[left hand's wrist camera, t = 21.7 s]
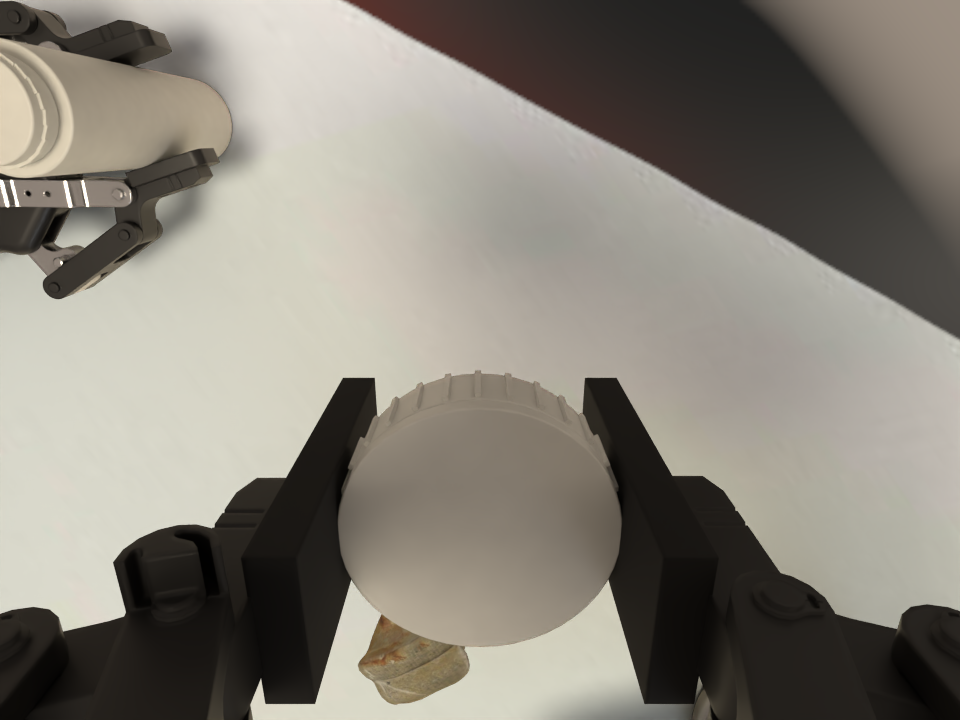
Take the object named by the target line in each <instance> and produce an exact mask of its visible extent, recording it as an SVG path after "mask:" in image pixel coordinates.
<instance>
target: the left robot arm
mask: <svg viewBox="0 0 960 720" xmlns="http://www.w3.org/2000/svg"><path fill="white" fill-rule="evenodd" d="M375 415H377V406H376V391H375V378H343V379H342V381H341V383H340V384H339V386H338V388H337V390H336V391H335V393H334V395H333V397H332V398H331V400H330V402H329V404H328V405H327V407H326V409H325V411H324V412H323V414H322V416H321V418H320V419H319V421H318V423H317V425H316V426H315V428H314V430H313V432H312V434H311V435H310V437H309V439H308V441H307V442H306V444H305V446H304V448H303V449H302V451H301V453H300V455H299V456H298V458H297V460H296V462H295V463H294V465H293V467H292V469H291V470H290V472H289V474H288V476H287V477H286V478H256V479H255V480H254V481H252V482H251V483H249V484H248V485H247V486H245V487H244V488H242V489H241V490H240V491H238V492H237V493H236V494H235V496H234V497H233V498H232V500H231V501H230V503H229V504H228V506H227V507H226V509H225V513H222V514H221V516H220V517H219V519H218V520H217V522H216V523H215V528H212V529H211V528H208V527H204V526H200V525H177V526H173V527H169V528H164V529H160V530H157V531H155V532H152V533H150V534H148V535H146V536H143V537H141V538H139V539H137V540H136V541H135V542H133V543H132V544H130V545H129V546H128V547H126V548H125V549H123V550H122V552H121V553H120V554H119V556H118V557H117V558H116V560H115V561H114V562H113V564H114V567H115V571H116V575H117V579H118V583H119V587H120V590H121V594H122V598H123V602H124V606H125V609H126V614H125V616H124V617H121V618H118V619H115V620H111V621H108V622H103V623H99V624H95V625H90V626H86V627H82V628H77V629H73V630H68V631H64V632H63V630H62V627H61V624H60V621H59V617H58V616H56V615H55V614H54V613H53V612H52V611H51V610H49V609H43V608H36V607H30V608H23V609H16V610H11V611H8V612H5V613H2V614H0V720H253V718H252V712H251V707H250V704H251V701H252V699H253V696H254V694H255V691H256V689H257V687H258V684H259V682H260V679H261V680H262V686H263V692H264V698H265V703H266V704H315V702H316V699H317V695H318V692H319V688H320V685H321V681H322V678H323V675H324V671H325V668H326V664H327V661H328V657H329V654H330V651H331V647H332V644H333V640H334V637H335V633H336V630H337V626H338V623H339V620H340V616H341V613H342V609H343V606H344V602H345V599H346V596H347V592H348V589H349V585H350V582H351V577H350V575H349V573H348V572H347V570H346V568H345V565H344V562H343V559H342V556H341V551H340V541H339V531H338V510H339V504H340V501H341V498H342V492H341V489H342V486H343V484H344V481H345V479H346V476H347V474H348V471H349V469H348V466H349V464H350V461H351V459H352V456H353V454H354V451H355V449H356V446H357V444H358V441H359V439H360V437H362V438H365V437H366V435H367V432H368V430H369V427H370V425H371V422H372V419H373V418H374V416H375ZM583 415H584V416H585V418H586V421H587V423H588V426H589V429H590V431H591V432H592V434H593V435H597V434H598V436H599V438H600V440H601V443H602V445H603V448H604V450H605V453H606V455H607V458H608V460H609V463H610V466H611V469H612V471H613V474H614V476H615V479H616V481H617V484H618V486H619V488H618V492H617V496H618V499H619V502H620V506H621V514H622V527H621V538H620V547H619V555H618V558H617V561H616V563H615V566H614V569H613V571H612V573H611V575H610V577H609V579H608V580H609V583H610V586H611V590H612V593H613V597H614V600H615V604H616V607H617V611H618V614H619V617H620V621H621V624H622V628H623V631H624V635H625V638H626V641H627V645H628V648H629V652H630V655H631V659H632V662H633V666H634V669H635V672H636V676H637V679H638V683H639V686H640V690H641V693H642V696H643V700H644V703H645V704H694V701H695V695H696V689H697V684H698V678H699V677H700V680H701V682H702V685H703V687H704V689H703V690H702V692H701V694H700V695H699V697H698V699H697V702H696V704H695V707H694V711H693V716H692V720H960V611H958V610H954V609H952V608H949V607H942V606H935V605H920V606H914V607H910V608H909V609H908V610H907V611H905V612H904V613H903V614H902V616H901V619H900V622H899V625H898V629H894V628H889V627H885V626H881V625H876V624H872V623H867V622H863V621H859V620H854V619H850V618H847V617H843V616H840V615H837V614H835V613H834V611H833V609H832V608H831V606H830V605H829V603H828V602H827V600H826V599H825V597H823V596H822V595H821V594H820V593H818V592H817V591H816V590H815V589H814V588H812V587H811V586H810V585H808V584H806V583H804V582H802V581H800V580H798V579H796V578H794V577H792V576H788V575H785V574H781V573H780V572H779V570H778V569H777V568H776V566H775V565H774V563H773V562H772V560H771V559H770V557H769V556H768V555H767V553H766V552H765V550H764V549H763V547H762V546H761V544H760V543H759V541H758V540H757V539H756V537H755V536H754V534H753V533H752V531H751V530H750V528H749V527H748V526H745V521H744V520H743V518H742V517H741V515H740V514H739V513H738V511H735V507H734V505H733V504H732V502H731V501H730V499H729V498H728V497H727V495H726V494H725V492H724V491H723V490H722V489H720V488H719V487H717V486H716V485H715V484H713V483H712V482H710V481H709V480H708V479H706V478H705V477H703V476H672V475H671V473H670V471H669V469H668V468H667V466H666V464H665V462H664V461H663V459H662V457H661V455H660V454H659V452H658V450H657V448H656V446H655V445H654V443H653V441H652V439H651V438H650V436H649V434H648V432H647V431H646V429H645V427H644V425H643V424H642V422H641V420H640V418H639V417H638V415H637V413H636V411H635V410H634V408H633V406H632V404H631V403H630V401H629V399H628V397H627V396H626V394H625V392H624V390H623V389H622V387H621V385H620V383H619V381H618V380H617V378H585V386H584V401H583Z"/></svg>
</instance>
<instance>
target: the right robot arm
mask: <svg viewBox="0 0 960 720" xmlns="http://www.w3.org/2000/svg"><path fill="white" fill-rule="evenodd" d="M0 38H3V39H8V40H13V41H17V42H27V43H28V44H31V45H36V46H41V47H45V48H50V49H55V50H59V51H64V52H69V53H73V54H78V55H83V56H87V57H92V58H97V59H101V60H106V61H111V62H115V63H120V64H125V65H129V66H136V65H139V64H142V63H145V62H147V61H150V60H153V59H156V58H158V57H161V56H164V55H167V54H169V53H171V52H172V50H171V48H170V46H169V43H168V41H167V39H166V36H165V34H162V33H159V32H156V31H153V30H150V29H148V27H147V26H144V25H141V24H138V23H135V22H132V21H124V20H117V21H114V22H112V23H109V24H108V25H104V26H101V27H99V28H96V29H93V30H90V31H88V32H85V33H82V34H80V35H77V36H74V37H71V36H70V34H69V33H68V32H67V31H66V25H65V23H64V21H63V20H62V18H61V17H60V16H58V15H57V14H55V13H52V12H48V11H41V10H38V9H34V8H31V7H28V6H27V5H25V4H21V3H18V2H15V1H0ZM217 163H219V159H218V157H217V155H216V152H215V150H214V148H200V149H195V150H192V151H188V152H185V153H182V154H179V155H177V156H174V157H171V158H168V159H165V160H162V161H159V162H156V163H153V164H150V165H148V166H145V167H142V168H138V169H136V170H133V171H130V172H127V173H125V174H126V176H127V178H120V177H102V176H83V175H82V173H81V174H69V175H57V176H45V177H33V178H18V177H12V176H8V175H5V174H2V173H0V253H3V252H7V253H13V254H17V255H26V254H28V255H29V256H30V257H31V258H32V259H33V261H34V262H35V263H36V264H37V265H38V266H39V267H40V268H41V269H42V270H43V272H44V273H45V274H46V275H47V277H46V278H45V279H44V281H43V288H44V290H45V292H46V293H47V294H48V295H49V296H50V297H52V298H55V299H62V298H64V297H67V296H70V295H72V294H75V293H78V292H80V291H83V290H86V289H88V288H91V287H93V286H94V285H96V284H97V283H99V282H100V281H101V280H103V279H104V278H105V277H107V276H108V275H109V274H111V273H112V272H113V271H115V270H116V269H117V268H119V267H120V266H122V265H123V264H124V263H126V262H127V261H128V260H130V259H131V258H132V257H134V256H135V255H136V254H138V253H139V252H141V251H142V250H143V249H145V248H146V247H147V246H149V245H150V244H151V243H153V242H154V241H155V240H157V239H158V238H159V237H160V236H161V235H162V232H163V229H162V225H161V223H160V222H159V221H158V220H157V219H156V214H155V206H156V203H157V202H158V200H159V199H161V198H162V197H165V196H168V195H171V194H174V193H177V192H180V191H183V190H186V189H189V188H192V187H195V186H198V185H201V184H204V183H206V182H207V181H208V180H209V179H210V178H211V177H212V176H213V175H212V172H211V170H210V168H209V166H212V165H215V164H217ZM74 207H114V208H115V215H116V221H117V224H116V225H115V226H113V227H112V228H111V229H109V230H108V231H107V232H105V233H104V234H103V235H101V236H100V237H99V238H97V239H96V240H95V241H93V242H92V243H91V244H89V245H88V246H87V247H86V248H84V247H82V246H79V245H73V246H70V247H66V248H61V247H59V246H57V245H56V244H54V242H55V240H56V238H57V236H58V234H59V232H60V230H61V228H62V227H63V225H64V223H65V221H66V219H67V217H68V215H69V213H70V211H71V209H72V208H74Z"/></svg>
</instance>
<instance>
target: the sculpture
mask: <svg viewBox="0 0 960 720" xmlns="http://www.w3.org/2000/svg"><path fill="white" fill-rule="evenodd" d="M464 649H465V646H459V645H452V644H446V643H442V642H438V641H434V640H430V639H428V638H425V637H422V636H419V635H417V634H414V633H412V632H410V631H408V630H406V629H404V628H402V627H400V626H398V625H397V624H395V623H394V622H392V621H391V620H389V619H388V618H386V617H385V616H384V615H382V614H381V617H380V619H379V622H378V624H377V626H376V629H375V631H374V634H373V637H372V640H371V643H370V646H369V649H368V651H367V653H366V655H365V656H364V657H363V658H362V659H361V660H360V662H359V664H358V667H359V671H360V672H361V673H362V674H363V675H364V676H365V677H367V678H368V679H370V680H372V681H373V682H374V683H375V685H376V688H377V690H378V692H379V693H380V695H381V696H382V698H384V699H385V700H386V701H387V702H389V703H391V704H394V705H396V704H401V703H411V702H414V701H418V700H421V699H423V698H425V697H427V696H429V695H431V694H433V693H435V692H437V691H439V690H441V689H443V688H445V687H448V686H450V685H452V684H455V683H456V682H458V681H459V680H461V679H462V678H463V677H464V676H465V675H466V674H467V673H468V671H469V666H470V665H469V660H468V656H467V653H466V652H465V650H464Z"/></svg>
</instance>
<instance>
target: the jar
mask: <svg viewBox="0 0 960 720" xmlns="http://www.w3.org/2000/svg"><path fill="white" fill-rule="evenodd" d="M231 134H232V122H231V116H230V113H229V110H228V108H227V106H226V104H225V102H224V101H223V99H222V98H221V97H220V95H219V94H218V93H217V92H216V91H215V90H214V89H212V88H211V87H210V86H208V85H207V84H205V83H203V82H201V81H198V80H195V79H190V78H186V77H181V76H176V75H172V74H167V73H162V72H158V71H153V70H148V69H143V68H139V67H134V66H129V65H125V64H120V63H115V62H111V61H106V60H101V59H97V58H92V57H87V56H83V55H78V54H73V53H69V52H64V51H59V50H55V49H50V48H45V47H41V46H36V45H31V44H27V43H22V42H17V41H13V40H8V39H3V38H0V173H2V174H5V175H8V176H12V177H18V178H33V177H45V176H57V175H69V174H81V173H93V172H105V171H117V170H130V169H138V168H142V167H145V166H148V165H150V164H153V163H156V162H159V161H162V160H165V159H168V158H171V157H174V156H177V155H179V154H182V153H185V152H188V151H192V150H195V149H200V148H214V150H215V152H216V155H217V157H219V156H220V155H221V154H222V153H223V152H224V151H225V150H226V148H227V146H228V144H229V142H230V139H231Z"/></svg>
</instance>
